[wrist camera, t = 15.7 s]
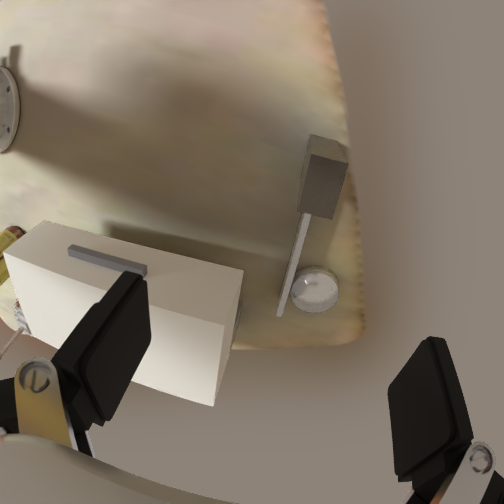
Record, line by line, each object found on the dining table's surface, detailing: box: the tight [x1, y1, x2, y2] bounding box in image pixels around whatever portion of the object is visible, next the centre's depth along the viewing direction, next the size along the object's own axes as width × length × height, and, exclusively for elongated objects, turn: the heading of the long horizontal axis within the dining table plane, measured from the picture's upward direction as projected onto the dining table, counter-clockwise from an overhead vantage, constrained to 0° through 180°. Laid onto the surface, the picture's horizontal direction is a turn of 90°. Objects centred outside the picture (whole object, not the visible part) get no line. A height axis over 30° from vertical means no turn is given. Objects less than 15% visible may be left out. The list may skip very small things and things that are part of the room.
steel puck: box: [291, 266, 339, 313], centre depth 32 cm, size 5×5×2 cm
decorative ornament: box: [0, 298, 34, 359], centre depth 37 cm, size 8×8×15 cm
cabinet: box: [3, 220, 244, 406], centre depth 30 cm, size 13×23×12 cm, turn 81°
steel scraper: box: [276, 135, 348, 317], centre depth 27 cm, size 18×2×8 cm, turn 170°
